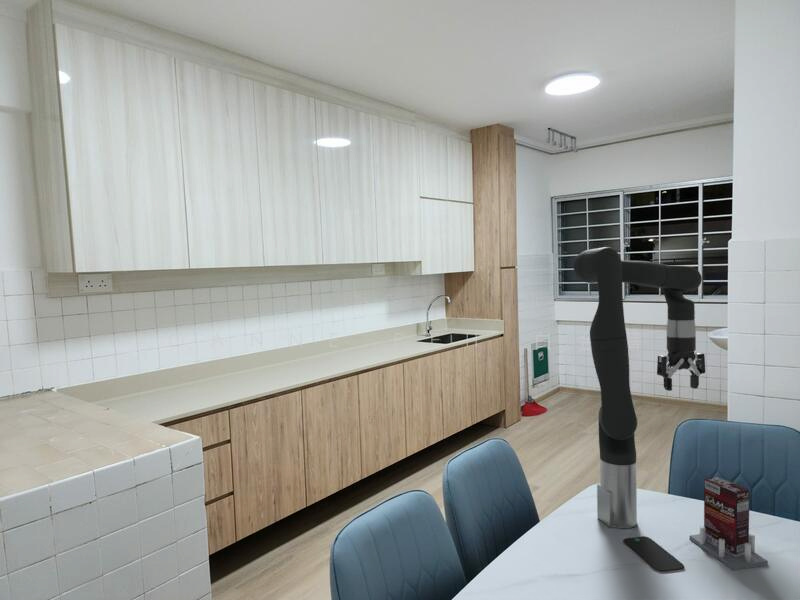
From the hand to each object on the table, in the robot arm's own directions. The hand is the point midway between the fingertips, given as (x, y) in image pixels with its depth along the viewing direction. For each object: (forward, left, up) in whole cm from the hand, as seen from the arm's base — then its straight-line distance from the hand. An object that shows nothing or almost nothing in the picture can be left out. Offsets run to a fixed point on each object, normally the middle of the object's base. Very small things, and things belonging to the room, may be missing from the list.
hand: (681, 389), depth 154 cm
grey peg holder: (-10, -28, -33) cm, 44 cm away
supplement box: (-10, -28, -32) cm, 44 cm away
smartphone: (-28, -25, -34) cm, 50 cm away
